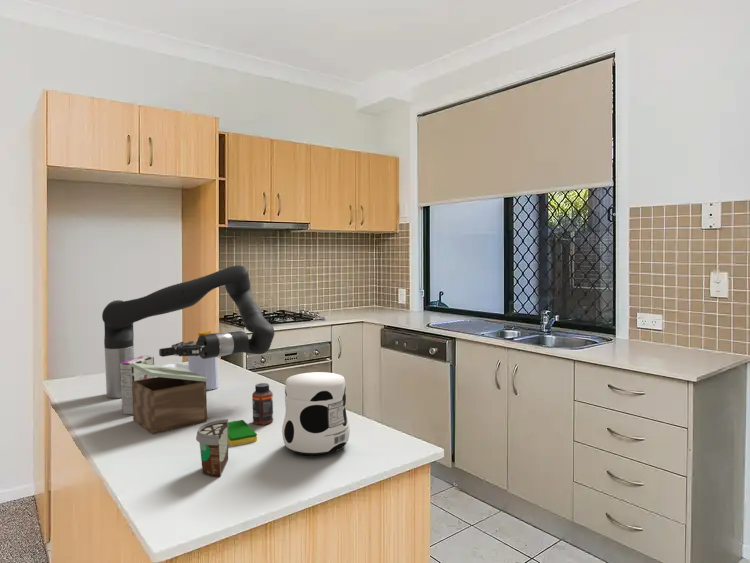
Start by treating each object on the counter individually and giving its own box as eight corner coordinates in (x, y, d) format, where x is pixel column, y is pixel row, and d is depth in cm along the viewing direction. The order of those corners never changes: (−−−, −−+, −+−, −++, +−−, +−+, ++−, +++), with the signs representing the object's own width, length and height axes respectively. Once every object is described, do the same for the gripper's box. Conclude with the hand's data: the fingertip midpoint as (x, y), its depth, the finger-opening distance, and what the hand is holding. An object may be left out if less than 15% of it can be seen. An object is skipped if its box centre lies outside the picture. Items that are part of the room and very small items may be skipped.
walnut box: (133, 420, 161) (131, 381, 160) (185, 409, 172) (184, 372, 171) (152, 434, 149) (150, 392, 149) (207, 421, 160) (205, 381, 159)
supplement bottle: (277, 420, 160) (276, 383, 160) (265, 426, 155) (264, 388, 154) (261, 417, 163) (260, 381, 162) (248, 423, 158) (247, 385, 157)
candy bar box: (143, 404, 178) (141, 355, 177) (156, 404, 177) (155, 355, 176) (121, 414, 167) (118, 362, 166) (135, 415, 166) (133, 363, 165)
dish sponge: (230, 447, 140) (230, 438, 140) (218, 431, 152) (218, 423, 152) (257, 442, 144) (257, 433, 144) (243, 427, 156) (242, 419, 156)
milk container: (289, 435, 148) (288, 371, 147) (352, 435, 147) (351, 371, 146) (276, 460, 131) (274, 388, 129) (346, 461, 130) (346, 388, 129)
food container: (204, 459, 132) (202, 419, 131) (229, 457, 133) (228, 418, 132) (191, 481, 120) (189, 437, 119) (219, 479, 120) (217, 436, 120)
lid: (131, 366, 160) (131, 362, 161) (183, 371, 171) (184, 368, 171) (150, 376, 148) (151, 372, 148) (206, 381, 159) (207, 378, 159)
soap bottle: (224, 386, 199) (223, 332, 197) (207, 392, 192) (205, 335, 190) (200, 382, 206) (199, 329, 204) (183, 386, 199) (181, 332, 198)
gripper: (206, 330, 174) (151, 337, 162) (224, 335, 164) (168, 343, 152) (207, 353, 174) (152, 361, 163) (225, 360, 164) (169, 369, 153)
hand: (160, 352), depth 158 cm, fingers closed
